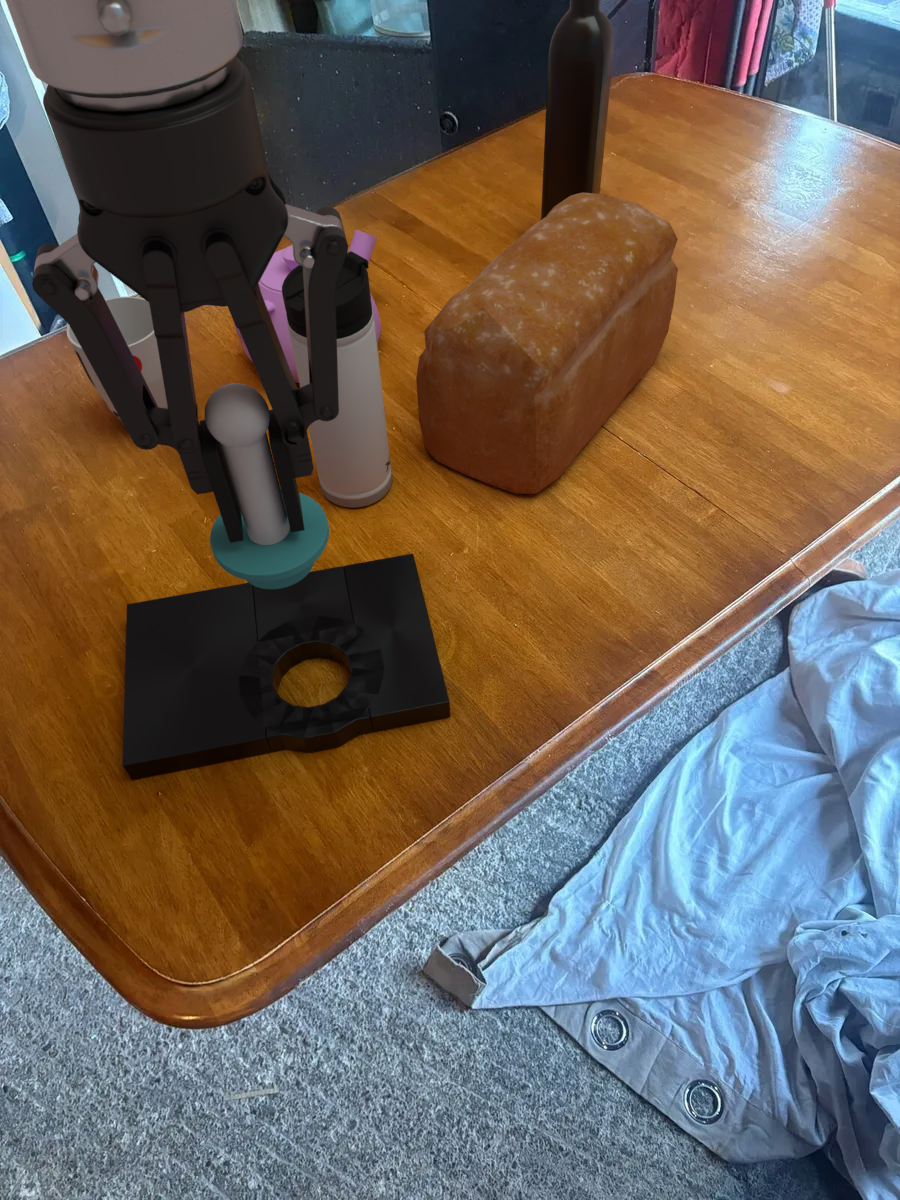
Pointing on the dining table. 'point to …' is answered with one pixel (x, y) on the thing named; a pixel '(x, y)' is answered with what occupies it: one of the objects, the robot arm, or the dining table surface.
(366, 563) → the plate
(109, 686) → the dining table surface
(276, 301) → the teapot
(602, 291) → the bread
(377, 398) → the travel mug
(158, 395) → the cup
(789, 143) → the dining table surface
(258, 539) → the stopper
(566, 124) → the wine bottle
